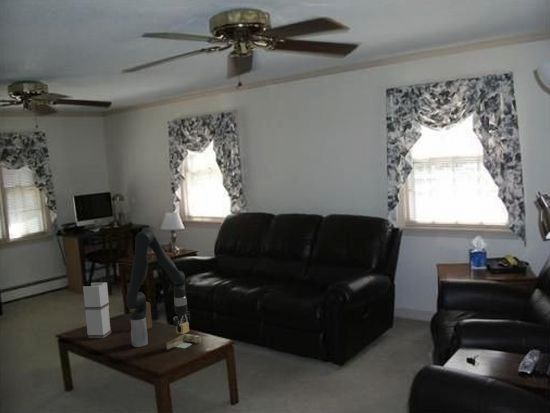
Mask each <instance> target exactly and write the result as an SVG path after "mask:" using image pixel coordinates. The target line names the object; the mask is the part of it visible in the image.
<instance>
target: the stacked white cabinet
mask: <svg viewBox="0 0 550 413" xmlns="http://www.w3.org/2000/svg"><path fill="white" fill-rule="evenodd" d="M82 290H83V299H84V300H83V301H84V310H85V321H86V331H87V338H88V339H105V338H106V337H107V336H109V335H111V334H112V329H111V321H110V313H109V308H110V303H109V302H110V301H109V291H108V282H91V283H90V286H85V285H84V286H82Z"/></svg>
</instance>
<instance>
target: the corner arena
mask: <svg viewBox="0 0 550 413" xmlns="http://www.w3.org/2000/svg"><path fill="white" fill-rule="evenodd" d="M183 342H184V343H185V342H187V343H195V344H201V343H202V337H201V335H194V334H188V333H184V334H181V335H179V336H178V337H176V338H174V339H171V340H169V341H167V342H166V343H165V344H166V345H165V346H166V350H171V349H173V348H176V347H175V346H177V345H179V344H181V343H183Z"/></svg>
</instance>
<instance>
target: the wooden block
mask: <svg viewBox="0 0 550 413" xmlns="http://www.w3.org/2000/svg"><path fill="white" fill-rule="evenodd" d="M151 309H152V308H151V303H150V302H149V301H146V326H147V330H150V329H152V328H153V322H152V321H153V320H152V312H151V311H152V310H151Z"/></svg>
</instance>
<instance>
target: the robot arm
mask: <svg viewBox="0 0 550 413" xmlns="http://www.w3.org/2000/svg"><path fill="white" fill-rule="evenodd" d="M149 248H150V249H151V250H152V251H153V253H154V255H155V258H156V260H157V263H158V264H159V266H161V268H162V269H163V270H164V271H165V272H166V273H167V274H166V275H168V277H169V279H170V280H171V282H173V284H174V287H173V302H174V305H173V306H174V312H175V316H173V317H172V322H173V325H174V327H176V326H177V331H178V332H181V323H182V322H190V321H191V311H189V310H188V300H187V295H186V294H187V293H186V292H187V291H186V275H185V273H184V271H181V270H179V269H178V268H177V266H176V264H175V262H174V261H173V259H171V257H170V256H169V255H168V253H166V251H165V250H164V248H163V247H162V245H161V244H160V242H159V241H158V238H157V236H156V235H155V234H154V232H153V231H152V230H151V229H149V228H146V229H142V230H141V231H140V232H138V233H137V234H136V236H135V240H134V257H133V260H132V261H133V262H132V268H131V274H130V275H131V276H130V280H129V286H128V290H127V294H126V296H125V297H126V298H125V299H126V300H125V304H126V307H127V309H129V310H133V312H131V313H130V317H129V318H130V327H131V330H130V339H131V346H132V347H134V348H141V347H145V346H147V345H148V344H149V341H148V339H149V338H148V329H147V326H146V302H147V299H146V295H145V294H144V292H142V291H139V290H140V289H141V286H142V284H144V281H145V280H146V278H147V275H148V270H149V269H148V268H149V262H148V259H147V254H148V249H149Z"/></svg>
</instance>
